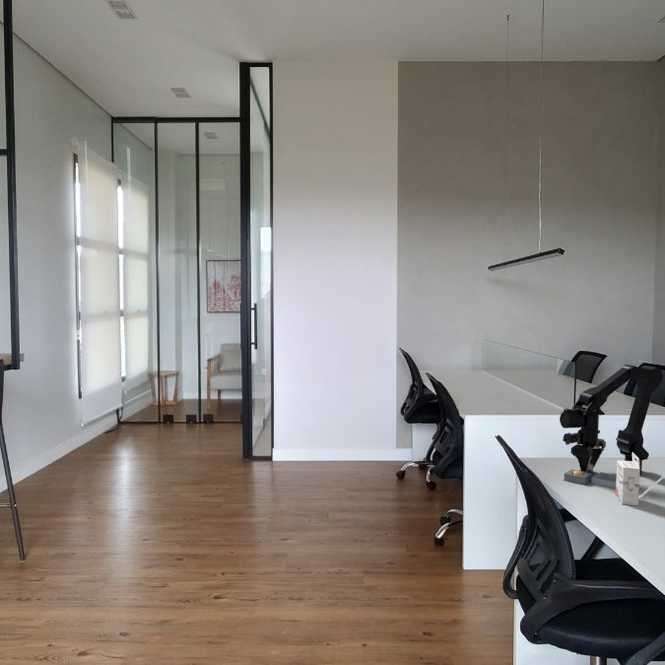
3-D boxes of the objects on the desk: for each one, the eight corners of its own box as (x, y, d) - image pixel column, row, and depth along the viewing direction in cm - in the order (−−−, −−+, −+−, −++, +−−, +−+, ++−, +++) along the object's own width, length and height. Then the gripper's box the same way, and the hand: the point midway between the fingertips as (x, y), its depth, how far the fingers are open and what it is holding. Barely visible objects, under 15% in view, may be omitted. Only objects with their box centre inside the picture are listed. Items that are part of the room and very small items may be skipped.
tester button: (575, 477, 211) (575, 470, 211) (583, 479, 209) (584, 472, 209) (572, 479, 209) (572, 472, 209) (580, 481, 207) (581, 473, 207)
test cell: (584, 472, 219) (584, 460, 219) (594, 474, 217) (594, 462, 216) (580, 474, 216) (581, 462, 216) (590, 476, 214) (591, 464, 214)
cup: (600, 478, 213) (600, 471, 213) (628, 484, 207) (629, 477, 207) (591, 485, 206) (591, 477, 206) (620, 491, 200) (620, 483, 200)
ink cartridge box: (614, 495, 196) (616, 450, 195) (631, 496, 195) (633, 451, 194) (621, 504, 187) (623, 457, 186) (638, 506, 186) (641, 458, 185)
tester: (578, 471, 221) (579, 463, 221) (601, 476, 216) (602, 468, 216) (562, 481, 209) (562, 473, 209) (586, 487, 204) (586, 478, 204)
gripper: (576, 419, 228) (574, 460, 229) (556, 427, 214) (555, 471, 215) (607, 424, 220) (605, 466, 221) (589, 432, 206) (587, 478, 207)
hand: (587, 470), depth 216 cm, fingers open, 9 cm apart
